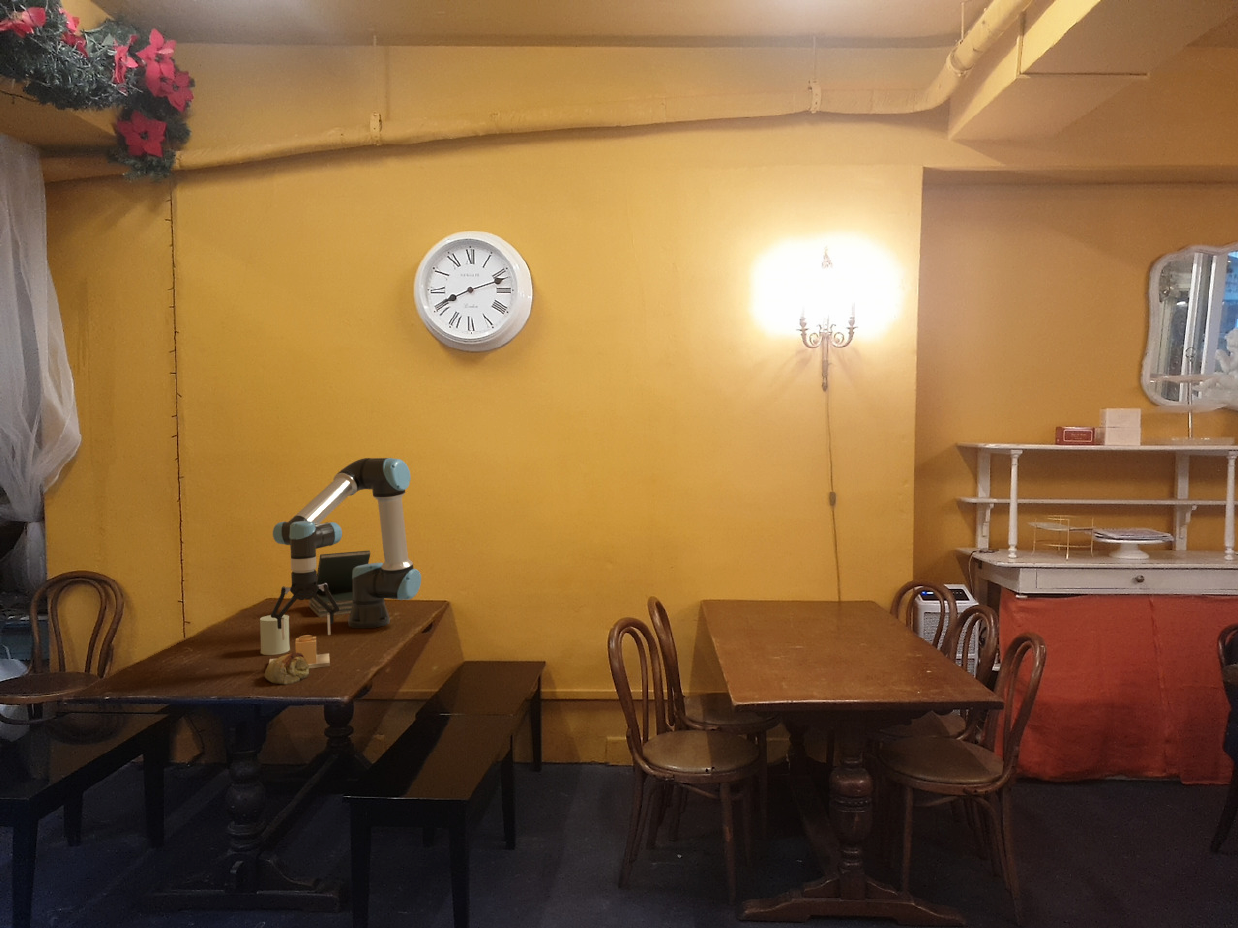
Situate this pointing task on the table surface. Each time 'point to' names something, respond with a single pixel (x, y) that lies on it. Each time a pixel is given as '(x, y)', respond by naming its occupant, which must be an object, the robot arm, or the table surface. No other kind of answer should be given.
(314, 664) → the flat beige board
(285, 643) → the can
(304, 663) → the pastry
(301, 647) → the cube with dome bump
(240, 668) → the table surface
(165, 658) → the table surface
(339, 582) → the dark boxy piece
